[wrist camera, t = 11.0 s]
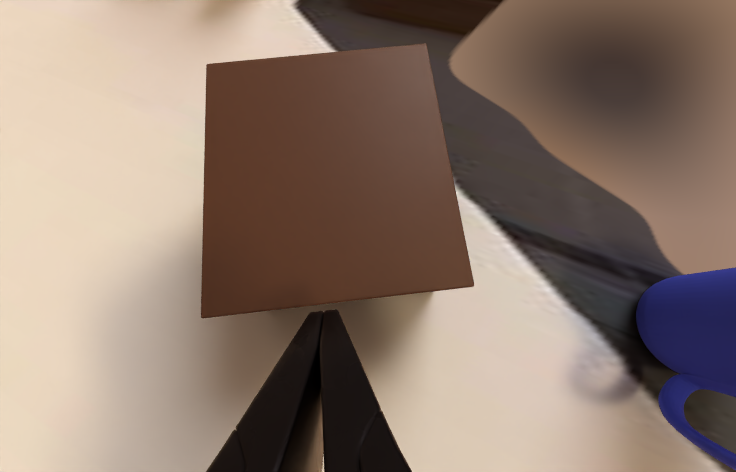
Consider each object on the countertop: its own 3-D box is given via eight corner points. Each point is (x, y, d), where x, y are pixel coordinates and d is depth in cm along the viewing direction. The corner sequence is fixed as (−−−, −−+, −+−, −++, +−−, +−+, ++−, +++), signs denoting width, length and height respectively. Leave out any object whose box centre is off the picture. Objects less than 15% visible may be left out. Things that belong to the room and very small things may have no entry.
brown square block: (213, 74, 16) (205, 63, 15) (423, 54, 16) (426, 42, 16) (210, 317, 13) (200, 318, 12) (469, 287, 13) (475, 286, 13)
